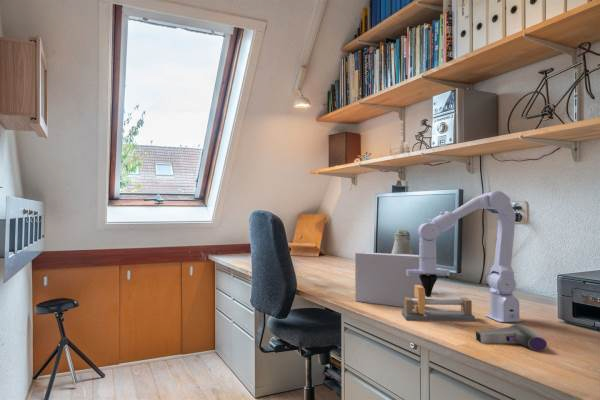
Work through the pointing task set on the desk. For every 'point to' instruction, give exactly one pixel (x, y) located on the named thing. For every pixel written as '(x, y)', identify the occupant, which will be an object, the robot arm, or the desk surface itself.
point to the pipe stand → (439, 315)
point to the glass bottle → (402, 243)
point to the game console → (385, 278)
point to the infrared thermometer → (513, 337)
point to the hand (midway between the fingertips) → (428, 296)
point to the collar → (420, 298)
